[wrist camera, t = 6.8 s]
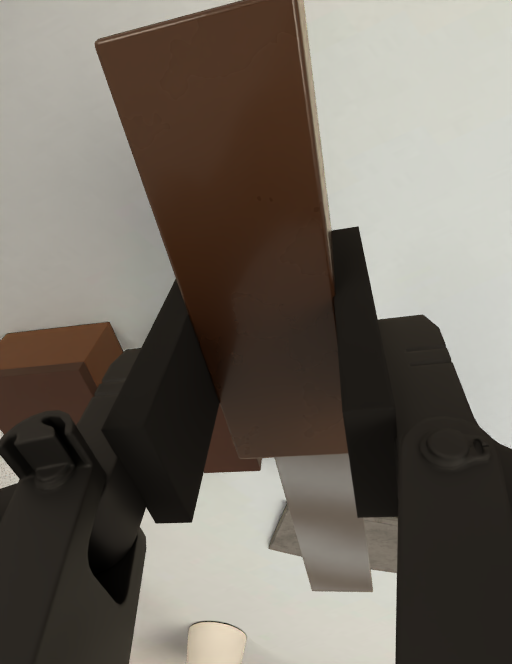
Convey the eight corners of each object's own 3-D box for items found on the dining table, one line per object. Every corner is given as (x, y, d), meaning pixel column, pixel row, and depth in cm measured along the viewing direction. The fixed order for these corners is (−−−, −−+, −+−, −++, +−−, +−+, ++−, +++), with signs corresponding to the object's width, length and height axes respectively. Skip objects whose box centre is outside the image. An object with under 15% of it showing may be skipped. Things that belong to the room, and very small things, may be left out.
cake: (7, 333, 32) (-37, 380, 28) (109, 321, 30) (78, 369, 26) (67, 429, 38) (38, 480, 34) (156, 423, 36) (137, 476, 32)
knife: (157, 30, 10) (90, 40, 7) (302, -9, 9) (296, -15, 6) (309, 579, 23) (309, 661, 20) (373, 579, 23) (382, 664, 20)
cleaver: (617, 537, 38) (631, 562, 37) (565, 590, 44) (575, 614, 43) (275, 493, 40) (273, 514, 39) (267, 549, 46) (265, 570, 44)
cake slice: (179, 313, 29) (158, 362, 25) (238, 307, 29) (226, 356, 25) (216, 419, 35) (204, 473, 31) (266, 416, 34) (260, 471, 30)
